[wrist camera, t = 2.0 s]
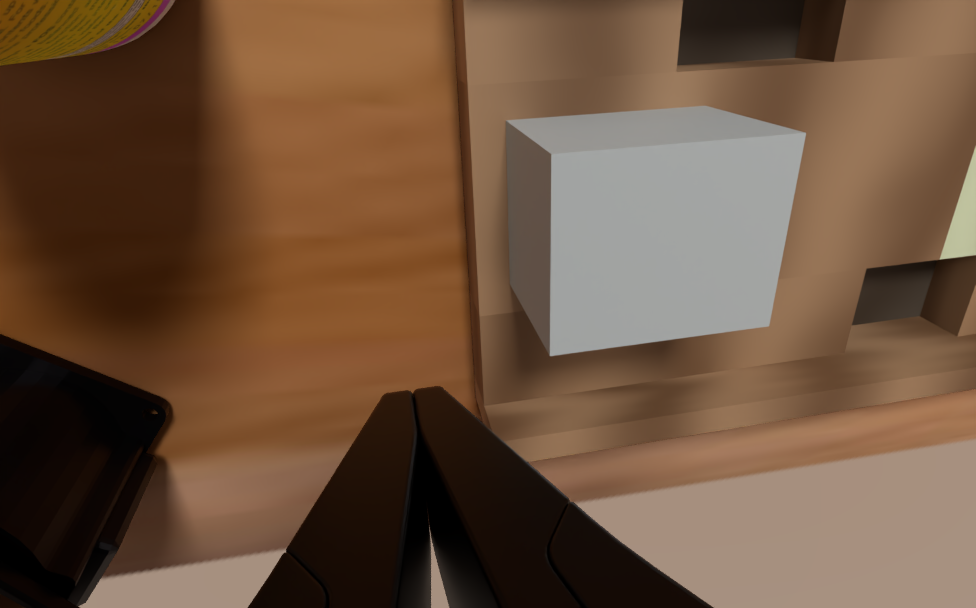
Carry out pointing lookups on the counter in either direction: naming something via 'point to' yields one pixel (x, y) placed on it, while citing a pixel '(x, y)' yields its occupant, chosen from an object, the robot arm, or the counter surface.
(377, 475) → the robot arm
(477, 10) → the wooden tray
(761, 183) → the block
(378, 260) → the counter surface
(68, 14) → the supplement bottle
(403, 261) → the counter surface
